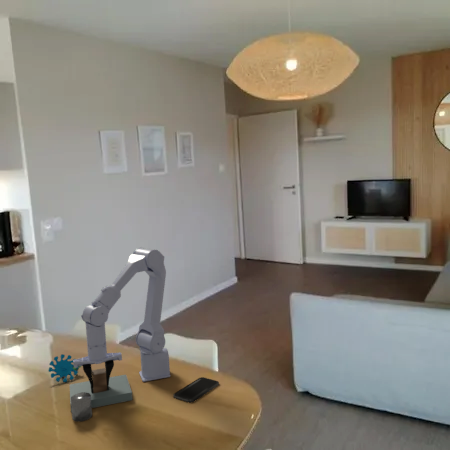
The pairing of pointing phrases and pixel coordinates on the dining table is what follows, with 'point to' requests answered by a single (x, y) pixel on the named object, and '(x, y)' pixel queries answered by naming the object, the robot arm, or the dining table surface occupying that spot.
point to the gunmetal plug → (81, 406)
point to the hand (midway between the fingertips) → (99, 385)
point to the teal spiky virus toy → (63, 368)
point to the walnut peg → (99, 380)
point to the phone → (196, 389)
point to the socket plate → (114, 394)
